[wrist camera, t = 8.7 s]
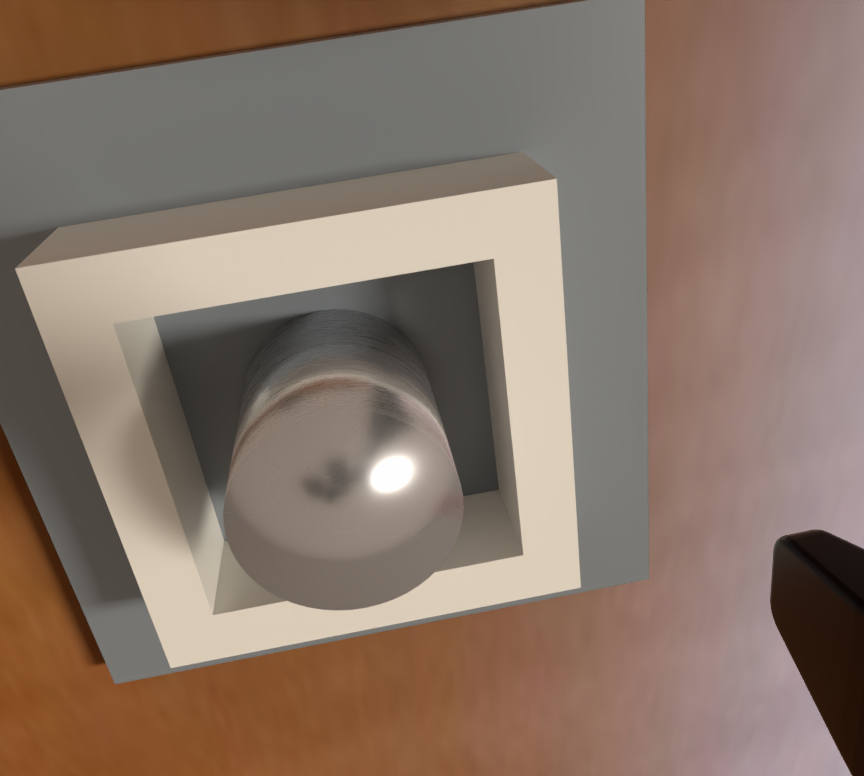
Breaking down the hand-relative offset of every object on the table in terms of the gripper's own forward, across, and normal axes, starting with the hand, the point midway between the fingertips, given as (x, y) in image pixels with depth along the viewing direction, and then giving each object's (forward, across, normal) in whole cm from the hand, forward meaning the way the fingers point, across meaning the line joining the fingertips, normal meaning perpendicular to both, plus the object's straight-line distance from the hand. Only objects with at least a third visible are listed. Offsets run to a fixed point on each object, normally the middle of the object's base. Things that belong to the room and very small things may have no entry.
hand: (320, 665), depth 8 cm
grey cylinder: (+10, 0, +2) cm, 10 cm away
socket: (+11, 0, +2) cm, 11 cm away
